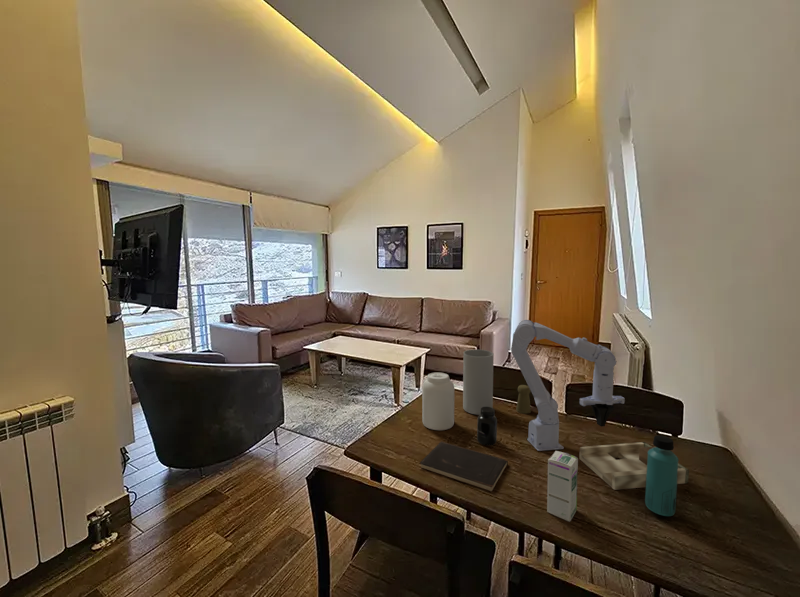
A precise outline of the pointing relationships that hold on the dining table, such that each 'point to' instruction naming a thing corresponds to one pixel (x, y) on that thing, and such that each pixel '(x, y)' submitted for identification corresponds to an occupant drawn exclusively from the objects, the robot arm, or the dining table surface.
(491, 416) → the supplement bottle
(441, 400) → the white lidded jar
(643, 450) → the walnut block
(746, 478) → the dining table surface
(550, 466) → the syrup box
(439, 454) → the hardcover book
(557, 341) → the robot arm
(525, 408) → the cork
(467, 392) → the cylinder vase
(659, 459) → the beverage bottle
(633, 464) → the trap box
